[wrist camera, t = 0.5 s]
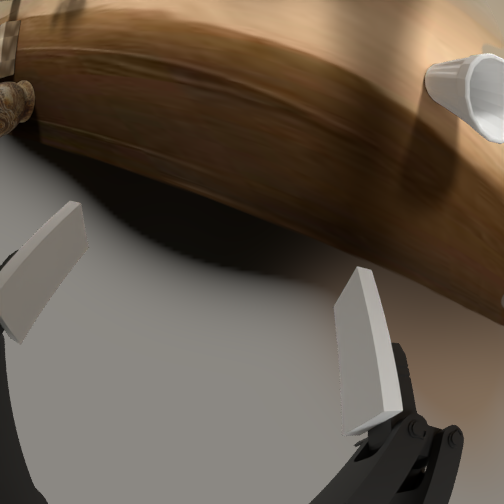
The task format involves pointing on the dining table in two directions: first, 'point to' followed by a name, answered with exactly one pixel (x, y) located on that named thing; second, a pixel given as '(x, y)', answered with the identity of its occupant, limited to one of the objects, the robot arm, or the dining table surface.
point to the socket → (8, 47)
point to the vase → (15, 104)
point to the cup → (472, 92)
